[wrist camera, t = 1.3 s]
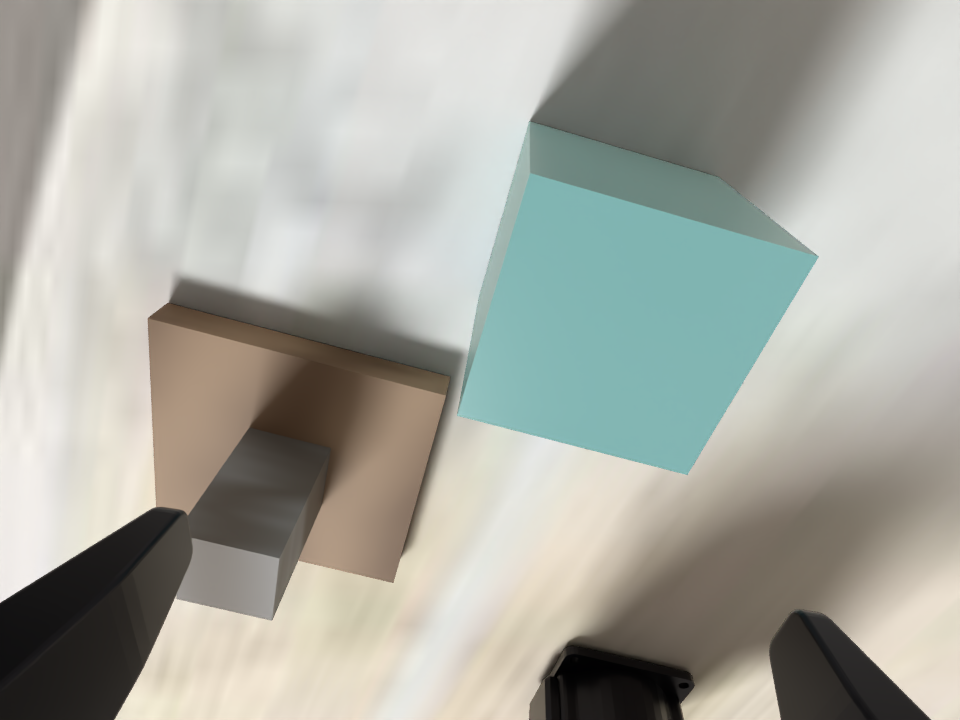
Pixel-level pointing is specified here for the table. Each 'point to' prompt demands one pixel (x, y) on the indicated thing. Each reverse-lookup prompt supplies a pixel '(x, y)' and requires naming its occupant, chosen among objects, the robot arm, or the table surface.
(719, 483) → the table surface
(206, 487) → the post board
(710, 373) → the teal block
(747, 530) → the table surface
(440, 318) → the table surface
